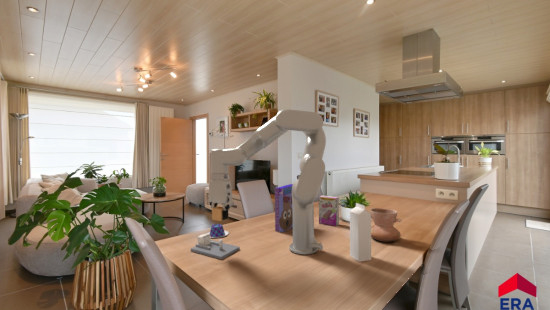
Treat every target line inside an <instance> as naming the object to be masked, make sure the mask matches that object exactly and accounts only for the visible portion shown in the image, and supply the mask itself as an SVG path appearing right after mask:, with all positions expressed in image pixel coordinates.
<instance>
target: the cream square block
mask: <svg viewBox="0 0 550 310" xmlns="http://www.w3.org/2000/svg"><path fill="white" fill-rule="evenodd" d="M210 237H211V236H210V234H206V233H203V234H200V235H197V244H201V245H205V246H207V245H209V244H210V240H211V238H210Z"/></svg>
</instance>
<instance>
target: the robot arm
mask: <svg viewBox="0 0 550 310" xmlns="http://www.w3.org/2000/svg"><path fill="white" fill-rule="evenodd" d="M323 127H324V119H323V117H322V115H321V114H319V113H318V112H315V111H308V110H297V109H287V108H286V109H280V110H279V111H278V112H277V114H276V115H275V116H273V117H272V118H271V119H270V120H269V121H267V122H265V123H264V124H263V125H262V126H260V127H259V128H257V129H256V130H255V131H254V132H253V133H252V135H251V136H250V137H248V139H247V140H245V141H244V142H243V143H241V144H240V145H239V146H237V147H236V148H228V149H227V148H213V149H211V151H210V180H209V187H208V198H207V199H206V201H207V203H208V204H209V206H210V209H211V210H212V208H214V207H217V206H219V204H221V206H223V211H222V219H223V220H222V221H224V220H228V219H229V218H228V214H229V210H230V209H231V207H232V206H234V204H235V202H234V200H233V188H232V182H231V180H230V177H231V176H230V174H229V166H238V167H239V166H240V165H242V164H244V163H245V162H247V160H249V159H250V158H252V157H253V156H254V155H256V154H257V153H259V152H260V151H261V150H263V149H265V148H267V147H268V146H269V145H271V144H272V143H273V142H275V141H276V140H278V139H279V138H280V137H282V136H283V135H284V134H286V133H287V132H289V131H294V132H295V131H296V132H302V133H304V135H305V138H306V143H305V147H304V151H303V154H302V157H301V160H300V163H299V171H300V174H299V177H298V178H297V179H296V180H295V181H294V182H293V183H292V184H293V185H292V208H293V227H292V243H290V245H289V251H290V252H291V253H294V254H297V255H312V254H315V253H316V252H317V251H318V250H324V249H323V248H324V246H323V243H321V242H317V239H316V238H315V206H314V204H315V203H314V202H315V201H316V200H317V198H318V197H319V193H320V191H321V187H322V183H323V180H324V177H325V173H326V164H325V163H326V162H324V160H323V157H324V153H325V149H326V142H327V141H326V140H327V138H326V134H325V131H324V129H323Z"/></svg>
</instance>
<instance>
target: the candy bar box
mask: <svg viewBox="0 0 550 310" xmlns="http://www.w3.org/2000/svg"><path fill="white" fill-rule="evenodd" d="M318 224H321V225H327V226H333V227H338V226H339V225H340V197H339V196H330V195H320V196H319V195H318Z"/></svg>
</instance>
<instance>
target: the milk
mask: <svg viewBox="0 0 550 310" xmlns="http://www.w3.org/2000/svg"><path fill="white" fill-rule="evenodd" d="M371 227H372V218H371V211H370V212H369V211H368V210H367V209H366V206H365V204H361V203H358V202H356V203H355V207H353V208H351V210H349V256H350V257H351V258H352V259H354V260H355V261H357V262H359V263H360V262H365V261H371V260H372V237H371Z"/></svg>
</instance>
